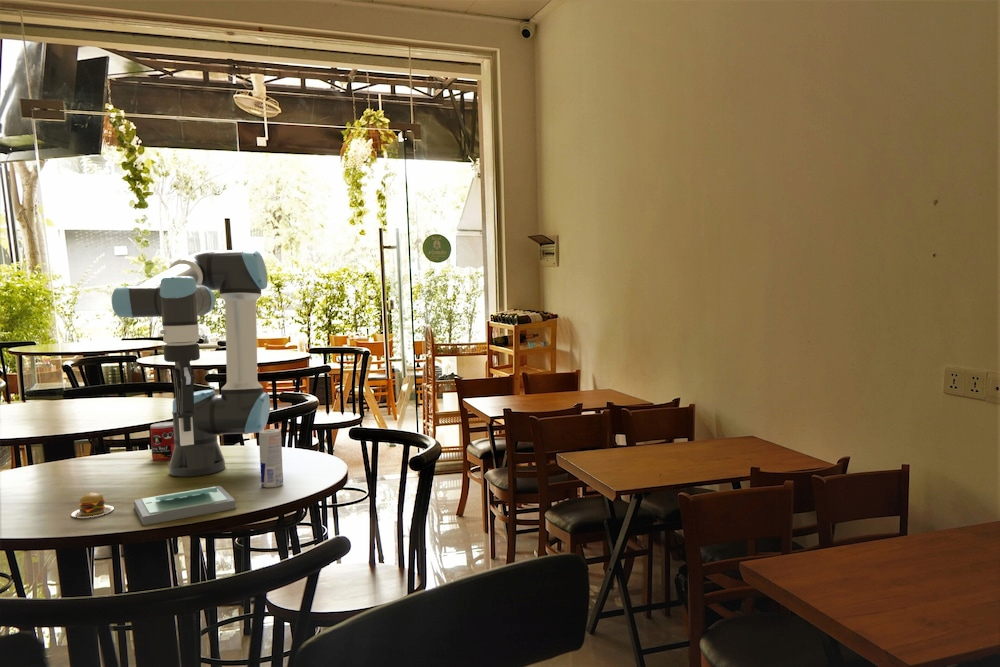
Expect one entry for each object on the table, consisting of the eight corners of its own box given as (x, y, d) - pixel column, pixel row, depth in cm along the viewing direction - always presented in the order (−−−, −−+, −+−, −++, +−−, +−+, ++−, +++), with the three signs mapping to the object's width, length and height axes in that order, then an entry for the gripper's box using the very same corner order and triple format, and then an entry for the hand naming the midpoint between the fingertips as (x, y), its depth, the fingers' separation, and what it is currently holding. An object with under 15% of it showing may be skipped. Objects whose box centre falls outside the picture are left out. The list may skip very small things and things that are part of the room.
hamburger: (118, 504, 178) (117, 483, 177) (124, 516, 168) (123, 494, 167) (62, 514, 171) (60, 492, 171) (65, 527, 161) (63, 503, 161)
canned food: (146, 461, 222) (144, 426, 222) (162, 455, 230) (161, 421, 229) (168, 461, 221) (167, 426, 220) (184, 455, 229) (182, 421, 228)
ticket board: (134, 508, 172) (133, 498, 172) (220, 493, 183) (220, 484, 183) (143, 525, 159) (142, 514, 159) (235, 508, 170) (235, 498, 170)
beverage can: (286, 482, 192) (284, 428, 191) (278, 488, 187) (275, 432, 186) (266, 482, 193) (264, 428, 192) (257, 488, 187) (255, 432, 186)
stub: (155, 496, 169) (161, 496, 161) (208, 488, 176) (216, 487, 168) (155, 500, 169) (161, 500, 161) (208, 491, 176) (217, 491, 168)
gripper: (159, 343, 166) (164, 441, 168) (168, 346, 155) (174, 452, 157) (193, 340, 170) (198, 437, 172) (204, 344, 160) (210, 447, 161)
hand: (187, 444), depth 165 cm, fingers closed
